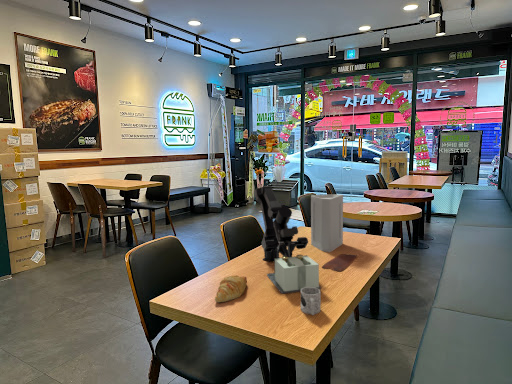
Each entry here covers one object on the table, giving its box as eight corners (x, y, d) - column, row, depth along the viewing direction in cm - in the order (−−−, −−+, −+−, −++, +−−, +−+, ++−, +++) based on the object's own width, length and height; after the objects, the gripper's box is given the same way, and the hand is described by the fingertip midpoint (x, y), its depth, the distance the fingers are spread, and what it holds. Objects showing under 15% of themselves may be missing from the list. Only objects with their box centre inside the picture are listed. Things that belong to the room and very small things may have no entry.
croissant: (223, 315, 120) (232, 298, 117) (202, 298, 123) (209, 281, 120) (250, 291, 139) (258, 276, 136) (231, 277, 142) (238, 262, 139)
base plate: (266, 275, 148) (266, 250, 146) (301, 271, 151) (301, 247, 150) (281, 293, 128) (280, 265, 127) (320, 288, 132) (320, 261, 131)
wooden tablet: (341, 273, 149) (341, 270, 149) (320, 269, 155) (320, 266, 155) (360, 257, 171) (360, 253, 171) (341, 254, 177) (341, 250, 177)
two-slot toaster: (274, 279, 140) (274, 258, 139) (306, 276, 143) (306, 255, 142) (284, 291, 128) (283, 268, 127) (318, 287, 131) (318, 264, 130)
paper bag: (319, 240, 202) (318, 193, 199) (343, 243, 194) (343, 194, 191) (304, 248, 187) (304, 197, 183) (330, 252, 178) (330, 199, 175)
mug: (299, 305, 119) (299, 287, 118) (319, 305, 119) (318, 286, 118) (302, 319, 109) (302, 299, 108) (323, 319, 109) (323, 299, 108)
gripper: (264, 221, 142) (272, 255, 132) (306, 218, 146) (317, 250, 137) (260, 235, 150) (267, 268, 141) (300, 232, 155) (309, 263, 145)
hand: (290, 262), depth 141 cm, fingers closed
